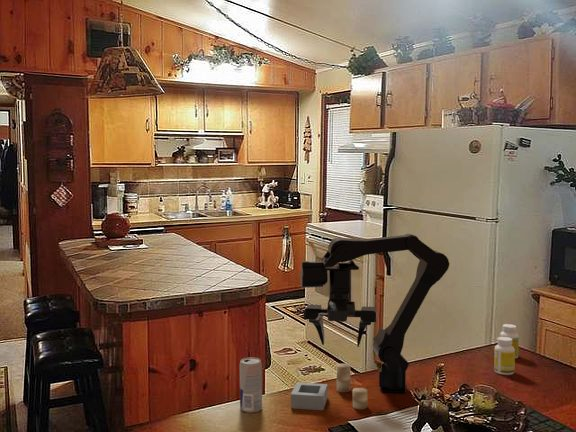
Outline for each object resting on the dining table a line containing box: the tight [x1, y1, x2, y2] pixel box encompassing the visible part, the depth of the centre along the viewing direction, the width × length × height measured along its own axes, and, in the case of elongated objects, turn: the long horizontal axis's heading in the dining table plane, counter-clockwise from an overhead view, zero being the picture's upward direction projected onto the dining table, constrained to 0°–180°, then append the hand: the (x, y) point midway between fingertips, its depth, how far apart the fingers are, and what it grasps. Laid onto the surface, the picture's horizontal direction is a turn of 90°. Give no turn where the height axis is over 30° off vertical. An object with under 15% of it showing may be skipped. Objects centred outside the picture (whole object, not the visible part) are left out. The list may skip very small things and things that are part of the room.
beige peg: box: [336, 363, 351, 393], centre depth 150 cm, size 4×4×6 cm
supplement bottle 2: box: [493, 336, 516, 376], centre depth 162 cm, size 5×5×10 cm
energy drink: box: [239, 356, 263, 414], centre depth 138 cm, size 5×5×12 cm
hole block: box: [290, 382, 328, 411], centre depth 141 cm, size 8×8×4 cm
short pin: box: [352, 387, 368, 410], centre depth 139 cm, size 4×4×4 cm
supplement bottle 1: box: [499, 323, 520, 359], centre depth 176 cm, size 5×5×10 cm
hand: (340, 345), depth 149 cm, fingers open, 9 cm apart
